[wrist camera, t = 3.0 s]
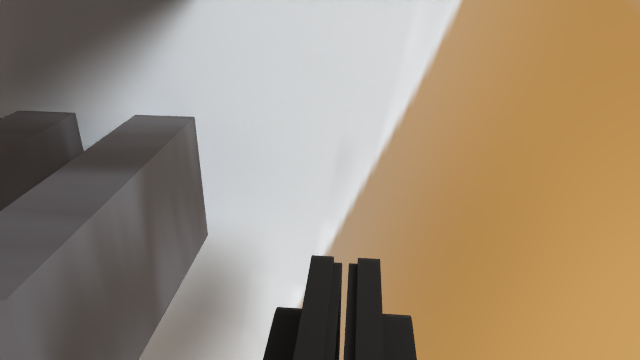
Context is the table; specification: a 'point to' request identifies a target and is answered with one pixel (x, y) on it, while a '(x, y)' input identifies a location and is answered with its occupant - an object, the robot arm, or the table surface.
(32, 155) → the domino
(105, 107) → the table surface
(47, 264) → the domino
